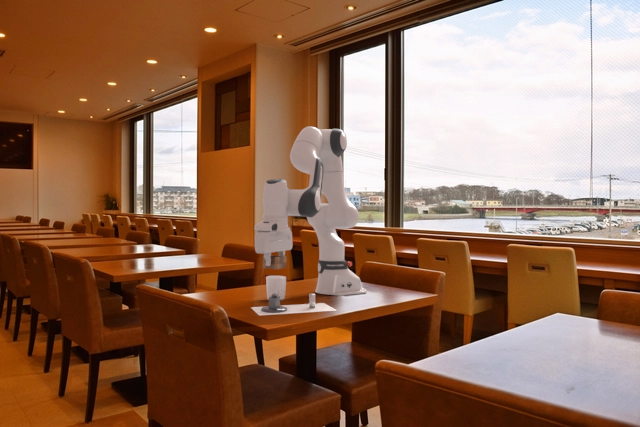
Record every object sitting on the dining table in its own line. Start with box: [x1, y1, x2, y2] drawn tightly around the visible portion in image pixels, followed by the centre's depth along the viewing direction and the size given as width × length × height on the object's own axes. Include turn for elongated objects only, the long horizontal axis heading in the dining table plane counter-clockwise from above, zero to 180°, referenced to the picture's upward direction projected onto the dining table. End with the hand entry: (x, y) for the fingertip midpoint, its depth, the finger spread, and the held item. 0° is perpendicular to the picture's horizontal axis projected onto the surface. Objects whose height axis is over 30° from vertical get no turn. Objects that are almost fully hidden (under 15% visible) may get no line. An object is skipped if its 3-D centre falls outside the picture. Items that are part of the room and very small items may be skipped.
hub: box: [261, 294, 287, 313], centre depth 180 cm, size 9×9×6 cm
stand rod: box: [308, 293, 316, 308], centre depth 185 cm, size 2×2×5 cm
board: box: [250, 302, 338, 317], centre depth 183 cm, size 28×14×2 cm, turn 109°
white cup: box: [265, 275, 287, 301], centre depth 202 cm, size 8×8×10 cm
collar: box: [262, 254, 287, 270], centre depth 180 cm, size 6×6×4 cm
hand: (274, 264), depth 180 cm, fingers closed on collar, 6 cm apart
